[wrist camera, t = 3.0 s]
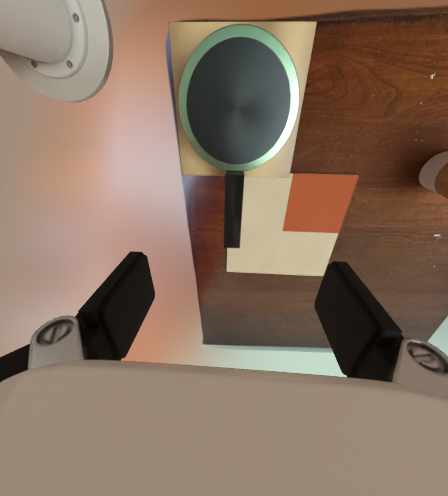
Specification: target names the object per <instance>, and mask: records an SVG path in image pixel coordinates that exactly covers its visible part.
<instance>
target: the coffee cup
mask: <svg viewBox="0 0 448 496" xmlns="http://www.w3.org/2000/svg"><path fill="white" fill-rule="evenodd" d="M419 182H420V184H421V185H422V186H423V187H425V188H427V189H429V190H431V191H434V192H436V193H438V194H440V195H442V196H444V197H446V198H448V151H446V152H442V153H439V154H437V155H435V156H434V157H432V158H431V159H430V160H428V161H427V162H426V163H425V165H424V166H423V167H422V169H421V171H420V174H419Z"/></svg>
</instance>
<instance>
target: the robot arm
mask: <svg viewBox="0 0 448 496" xmlns="http://www.w3.org/2000/svg"><path fill="white" fill-rule="evenodd" d="M0 49H3V50H6V51H9V52H12V53H15V54H16V55H17V56H18V57H19V58H20V59H21V60H22V61H23V62H24V63H25V64H26V65H28V66H29V67H30V68H31V69H33V70H35V71H36V72H38V73H40V74H42V75H45V76H48V77H52V78H56V79H65V78H69V77H72V76H73V75H75V74H76V73H77V72H78V71H79V70H80V69H81V68H82V66H83V64H84V62H85V59H86V56H87V52H88V31H87V25H86V21H85V17H84V14H83V11H82V8H81V5H80V3H79V0H0ZM154 298H155V291H154V286H153V282H152V277H151V273H150V268H149V263H148V259H147V256H146V255H144V254H143V253H142V252H130V253H129V254H128V255H127V256H126V257H125V258H124V259H123V261H122V262H121V263H120V264H119V265H118V266H117V267H116V269H115V270H114V271H113V272H112V273H111V274H110V275H109V276H108V278H107V279H106V280H105V281H104V282H103V283H102V285H101V286H100V287H99V288H98V289H97V290H96V291H95V292H94V294H93V295H92V296H91V297H90V298H89V299H88V300H87V302H86V303H85V304H84V305H83V306H82V307H81V308H80V310H79V311H78V312H79V313H78V314H77V315H76V316H75V317H73V316H61V317H58V318H55V319H53V320H50V321H48V322H47V323H45V324H44V325H42V326H41V327H40V328H39V329H38V330H36V332H35V333H34V334H33V336H32V338H31V341H30V344H28V345H26V346H24V347H22V348H20V349H17V350H15V351H13V352H11V353H9V354H7V355H5V356H2V357H0V496H448V356H447V355H446V354H444V353H443V352H442V351H441V350H439V349H438V348H437V347H435V346H433V345H432V344H430V343H428V342H426V341H423V340H421V339H416V338H406V339H405V338H404V337H403V336H402V334H401V333H402V331H401V330H400V328H399V327H398V326H397V325H396V323H395V322H394V321H393V320H392V318H391V317H390V316H389V315H388V313H387V312H386V311H385V310H384V308H383V307H382V306H381V305H380V303H379V302H378V301H377V300H376V298H375V297H374V296H373V295H372V293H371V292H370V291H369V290H368V288H367V287H366V286H365V285H364V283H363V282H362V281H361V280H360V278H359V277H358V276H357V275H356V273H355V272H354V271H353V270H352V268H351V267H350V266H349V265H348V263H347V262H337V261H333V262H332V263H331V264H328V266H327V269H326V271H325V274H324V277H323V280H322V283H321V286H320V289H319V292H318V294H317V297H316V300H315V310H316V312H317V314H318V317H319V319H320V322H321V324H322V326H323V329H324V331H325V333H326V336H327V338H328V341H329V343H330V345H331V348H332V350H333V352H334V354H335V357H336V360H337V362H338V364H339V366H340V369H341V371H342V373H343V374H344V375H347V377H337V376H325V375H312V374H300V373H287V372H275V371H262V370H248V369H234V368H221V367H208V366H193V365H179V364H165V363H149V362H135V361H121V359H122V358H125V357H126V355H127V353H128V351H129V349H130V347H131V345H132V343H133V341H134V339H135V337H136V335H137V333H138V331H139V329H140V327H141V325H142V322H143V321H144V319H145V317H146V315H147V313H148V311H149V309H150V307H151V305H152V302H153V300H154Z"/></svg>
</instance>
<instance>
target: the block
mask: <svg viewBox="0 0 448 496" xmlns="http://www.w3.org/2000/svg"><path fill="white" fill-rule="evenodd" d="M232 24H251V25H255V26H258V27H261V28H263V29H265V30H267V31H268V32H270V33H271V34H272V35H274V36H275V37H276V38H277V39H278V40H279V41H280V42H281V43H282V44H283V45H284V47H285V48H286V50H287V51H288V53H289V55H290V57H291V59H292V60H293V63H294V66H295V69H296V72H297V77H298V82H299V107H298V113H297V118H296V121H295V124H294V127H293V130H292V132H291V134H290V136H289V138H288V139H287V141H286V143H285V144H284V146H283V147H282V148H281V150H280V151H279V152H278V153H277V154H276V155H275V156H274V157H273V158H272V159H270V160H269V161H268V162H266V163H265V164H263V165H261V166H259V167H257V168H255V169H252V170H249V171H243V172H244V175H245V177H279V178H289V175H290V170H291V164H292V158H293V153H294V147H295V142H296V136H297V130H298V125H299V119H300V114H301V108H302V102H303V97H304V91H305V86H306V80H307V74H308V69H309V63H310V57H311V52H312V46H313V41H314V35H315V29H316V24H317V22H169V23H168V25H169V37H170V48H171V59H172V70H173V81H174V92H175V104H176V115H177V126H178V137H179V148H180V159H181V170H182V175H209V176H225V174H226V171H225V170H221V169H218V168H216V167H214V166H212V165H210V164H209V163H207V162H206V161H204V160H203V159H202V158H201V157H200V156H199V155H198V154H197V153H196V152H195V150H194V149H193V148H192V146H191V145H190V143H189V141H188V139H187V137H186V135H185V133H184V130H183V128H182V124H181V120H180V115H179V104H178V97H179V87H180V81H181V77H182V74H183V71H184V68H185V66H186V64H187V61H188V59H189V58H190V56H191V54H192V53H193V51H194V50H195V48H196V47H197V46H198V45H199V43H200V42H202V41H203V40H204V39H205V38H206V37H207V36H208V35H210V34H211V33H212V32H214V31H216V30H218V29H220V28H222V27H225V26H228V25H232Z"/></svg>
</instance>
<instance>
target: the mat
mask: <svg viewBox="0 0 448 496" xmlns="http://www.w3.org/2000/svg"><path fill="white" fill-rule="evenodd" d="M358 177H359V175H352V174H315V173H290V175H289V178H279V177H244V192H243V207H242V222H241V237H240V248H227V272H245V273H266V274H287V275H308V276H323V275H324V273H325V270H326V267H327V264H328V261H329V258H330V256H331V253H332V250H333V247H334V244H335V241H336V238H337V236H338V233H339V231H340V228H341V225H342V223H343V220H344V217H345V214H346V211H347V208H348V206H349V203H350V200H351V197H352V194H353V191H354V189H355V186H356V183H357V180H358Z"/></svg>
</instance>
